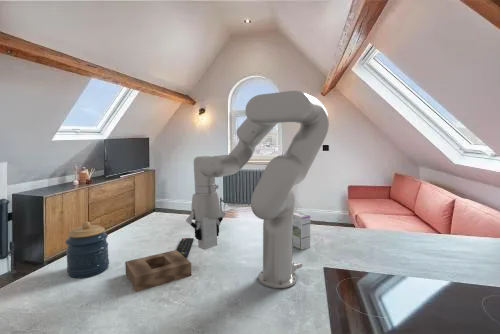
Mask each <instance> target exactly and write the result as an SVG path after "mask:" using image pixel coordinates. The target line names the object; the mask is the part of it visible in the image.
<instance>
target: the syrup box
mask: <svg viewBox="0 0 500 334" xmlns="http://www.w3.org/2000/svg"><path fill="white" fill-rule="evenodd" d="M293 247H294V248H295V249H299V251H300V250H301V251H303V250H306V249H309V248H311V214H309V213H306V212H303V211H299V212H294V213H293V233H292V248H293Z"/></svg>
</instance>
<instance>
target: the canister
mask: <svg viewBox="0 0 500 334" xmlns="http://www.w3.org/2000/svg"><path fill="white" fill-rule="evenodd" d="M105 231H106V229H105V228H104V227H103V226H101V225H99V224H91V222H90V221H84V222H83V223H82V224H81V226H78V227H74V228H73V229H72V230H70V231H69V232H68V233H67V237H68V238H66V239H65V240H64V242H65V243H64V244H65V245H66V249H65V253H66V265H67V267H66V273H67V274H68V277H70V278H72V279H85V278H90V277H95V276H97V275H100V274H102V273H104V272H105V271H107V270H108V269H109V264H110V259H109V242H107V238H108V237H109V236H108V235H109V234H108V233H106V232H105Z"/></svg>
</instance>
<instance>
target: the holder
mask: <svg viewBox="0 0 500 334" xmlns="http://www.w3.org/2000/svg"><path fill="white" fill-rule="evenodd" d="M124 264H125V265H124V266H125V275H126V277H127V279H128V280H129V282H130V285H131V286H132V288H133V289H134V292H140V291H143V290H147V289H150V288H153V287H157V286H160V285H164V284H166V283H172V282H174V281H177V280H181V279H185V278H187V277H191V276H192V262H191V261H190V260H189V259H188V258H187V259H186V258H185V257H184V256H183V255H182V254H180V253H179V252H178V251H177V249H175V250H169V251H165V252H161V253H158V254H153V255H148V256H145V257H139V258H135V259H132V260H131V259H130V260H126V261H124Z"/></svg>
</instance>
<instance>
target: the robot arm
mask: <svg viewBox="0 0 500 334" xmlns="http://www.w3.org/2000/svg"><path fill="white" fill-rule="evenodd" d="M244 110H245V112H244V113H245V116H246V119H244V121H243V122H242V123H241V124H240V125H239V126H238V127H237V129H236V137H237V138H238V142H237V144H236V145H235V147H234V148H233V149H232V151H230V153H229V154H221V155H214V156H211V155H210V156H209V155H207V156H206V155H205V156H204V155H203V156H202V155H201V156H196V157H195V158H193V174H194V175H193V176H194V193H193V194H192V200H191V207H190V209H191V210H190V211H191V213H190V214H189V216H188V217H187V218H186V219H185V221H186V223H188V224H189V226H191V227H192V228H193V229H194V237H195V239H196V240H197V241H198V240H201V229H199V228H200V225H201V222H202V218H203V217H207V218H208V219H209V220H211V219H216V227H217V237H219V233H220V225H221V223H222V221H223V219H224V218H225V216H226V212H224V211H223V210H222V209H221V205H220V199H219V196H218V195H219V194H218V192H217V190H218V189H219V185H218V184H216V178H223V177H226V176H227V177H228V176H232V175H235V174H237V173H238V172H239V171H241V170H242V168H243V167H244V166H245V165H246V164H247V163H248V162H249V161H250V160H251V158H252V157H253V154H254V153H255V150H256V147H257V146H259V144H260V143H261V142H262V141H263V139H265V137H266V136H267V135H268V134H269V133H270V132H271V131H272V130H273V129H274V127H276V125H278V124H281V123H282V124H283V123H297V124H300V126H299V129H298V131H296V133H295V135H294V137H292V139H291V143H290V144H289V146H288V147H287V150H286V151H285V153H284V154H280V155H277V156H275V157H274V158H272V159H270V161H269V162H268V163H267V165H266V166H265V168H264V170H263V171H262V175H261V176H260V178H259V180H258V182H257V184H256V186H255V189H254V191H253V193H252V195H251V198H250V209H251V211H252V213H253V215H254V216H255V217H256V218H258V219H260V220H263V221H262V222H263V223H262V270H261V271H259V273H258V274H257V275H258V276H257V277H258V281H259V283H260V284H262V285H263V286H265V287H269V288H271V289H272V288H274V289H286V288H290V287H292V286H294V285H295V284H296V283H297V280H298V277H297V274H296V271H297V270H299V269H301V268H302V267H303V263H302V262H301V261H299V262H296V263H295V261H293V246H292V233H293V214H294V213H295V205H296V201H295V200H296V199H295V194H294V191H293V190H292V189H293V187H294V186H295V185H298V184H300V183H302V182H303V181H304V179H305V178H306V177H307V175H308V173H309V170H310V168H311V166H312V165H313V163H314V161H315V159H316V157H317V155H318V153H319V151H320V150H321V147H322V145H323V144H324V141H325V140H326V137H327V135H328V132H329V127H330V120H329V119H330V118H329V115H328V112H327V110H326V107H325V106H324V105H323V103H322V102H321V101H320V100H318V98H316V97H315V96H313V95H310V94H308V93H307V92H304V91H301V90H287V91H280V92H279V91H278V92H271V93H262V94H257V95H255V96H252V98H250V99H249V100H248V101H247V103H246V105H245V109H244ZM192 220H194V221H192Z"/></svg>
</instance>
